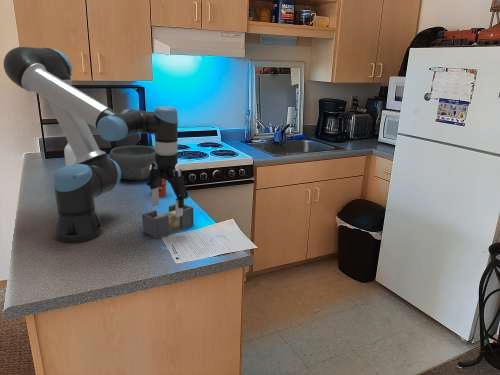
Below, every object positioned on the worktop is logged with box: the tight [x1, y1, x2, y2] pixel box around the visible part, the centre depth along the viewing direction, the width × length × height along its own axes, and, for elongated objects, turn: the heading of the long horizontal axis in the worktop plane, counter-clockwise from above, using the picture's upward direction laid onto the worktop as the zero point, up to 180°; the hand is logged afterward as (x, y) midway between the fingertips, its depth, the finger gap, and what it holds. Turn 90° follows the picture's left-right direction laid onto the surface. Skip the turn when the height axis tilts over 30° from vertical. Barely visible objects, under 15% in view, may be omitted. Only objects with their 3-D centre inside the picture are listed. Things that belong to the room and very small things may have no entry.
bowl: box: [108, 145, 156, 181], centre depth 195 cm, size 24×24×15 cm
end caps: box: [141, 203, 195, 240], centre depth 138 cm, size 17×8×7 cm, turn 140°
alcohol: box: [63, 142, 76, 166], centre depth 177 cm, size 9×9×30 cm
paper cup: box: [149, 165, 167, 198], centre depth 171 cm, size 8×8×14 cm
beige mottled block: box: [153, 210, 180, 231], centre depth 138 cm, size 13×4×5 cm, turn 140°
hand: (166, 210), depth 137 cm, fingers open, 13 cm apart
